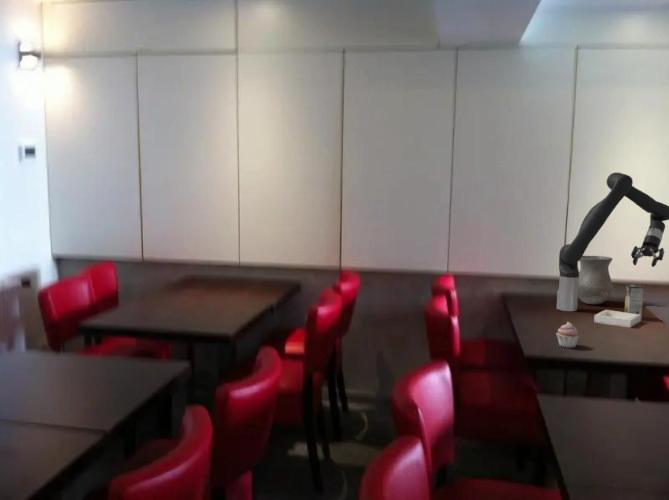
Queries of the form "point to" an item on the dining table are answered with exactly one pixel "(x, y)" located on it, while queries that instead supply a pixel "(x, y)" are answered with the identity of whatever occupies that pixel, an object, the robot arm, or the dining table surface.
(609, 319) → the dish
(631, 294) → the coffee box
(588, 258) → the vase
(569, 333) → the cupcake
